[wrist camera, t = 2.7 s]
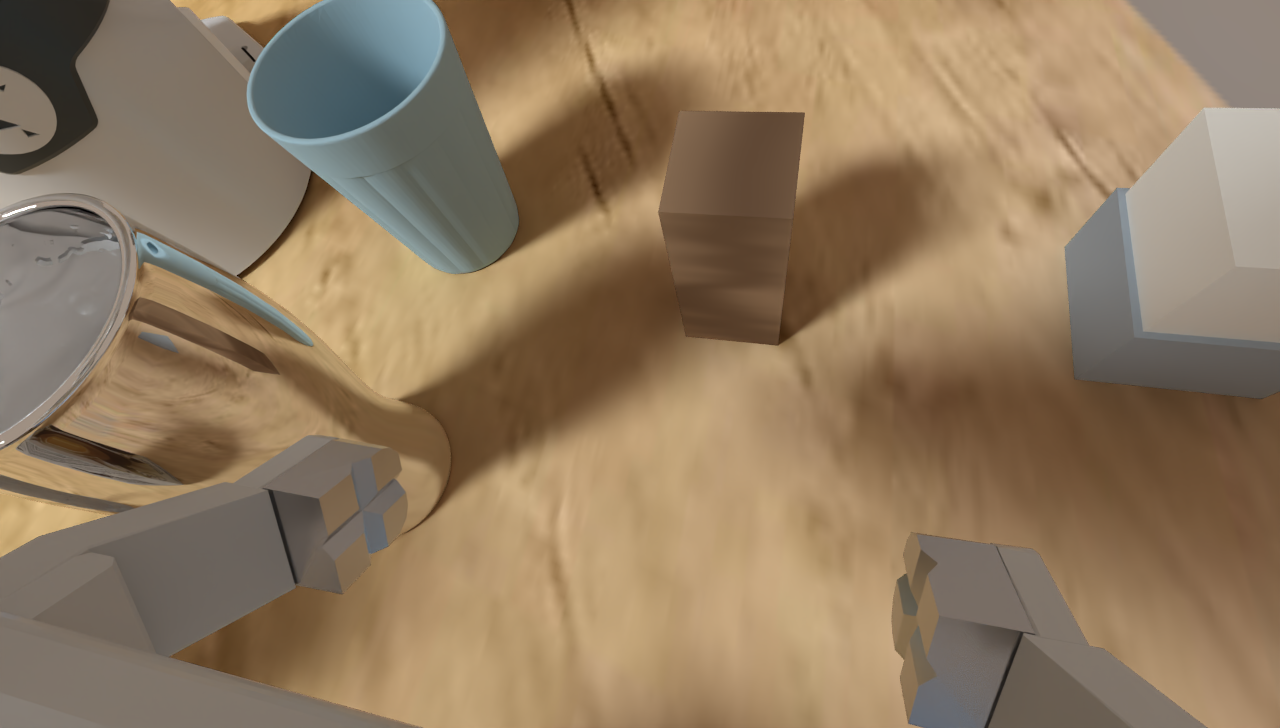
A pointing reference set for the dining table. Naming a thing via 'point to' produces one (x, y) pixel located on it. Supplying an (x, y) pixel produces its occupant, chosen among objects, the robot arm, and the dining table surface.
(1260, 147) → the tower mid
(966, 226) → the dining table surface
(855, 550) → the dining table surface
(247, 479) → the robot arm
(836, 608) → the dining table surface
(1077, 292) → the tower base
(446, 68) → the cup
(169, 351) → the beer glass
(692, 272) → the walnut pillar
